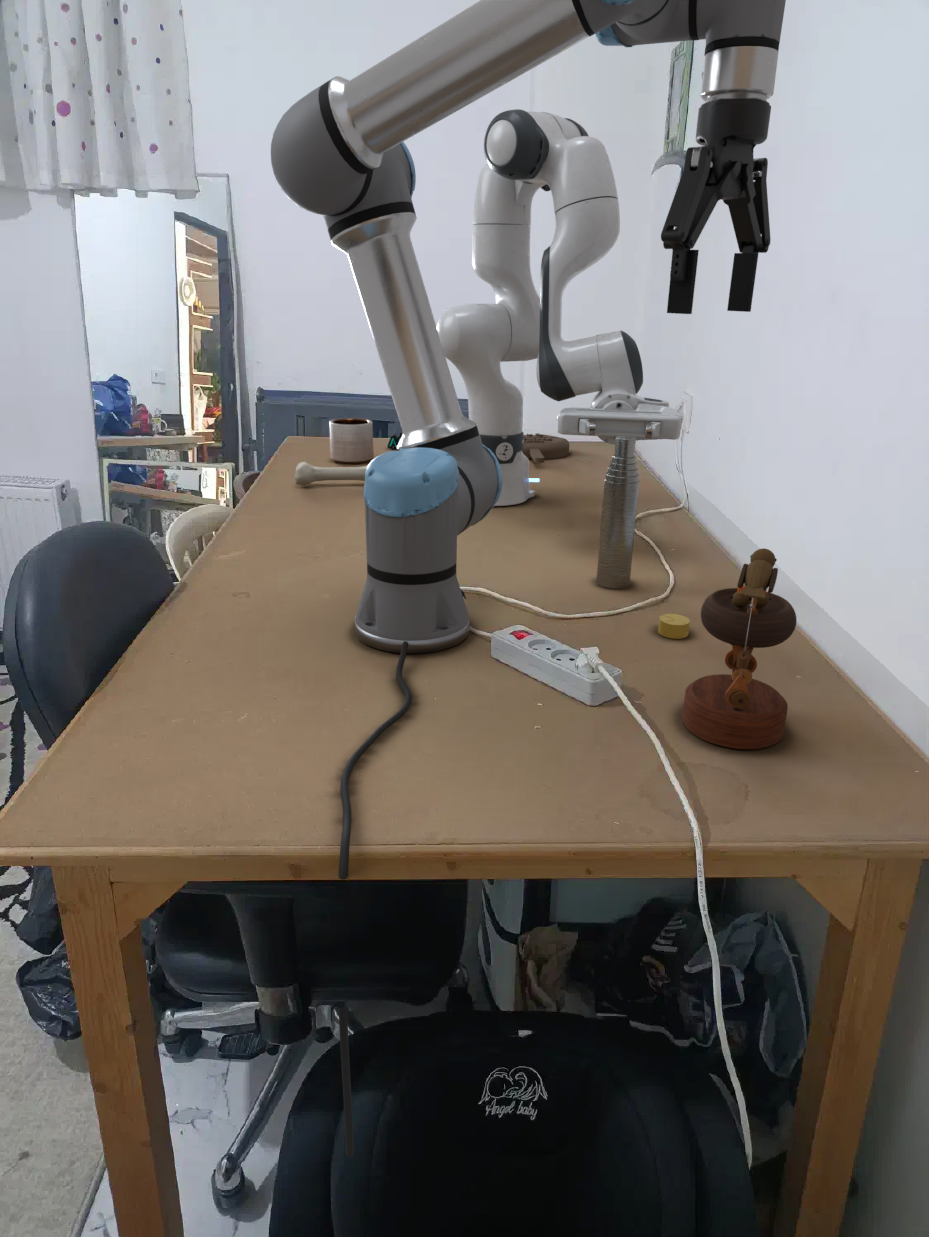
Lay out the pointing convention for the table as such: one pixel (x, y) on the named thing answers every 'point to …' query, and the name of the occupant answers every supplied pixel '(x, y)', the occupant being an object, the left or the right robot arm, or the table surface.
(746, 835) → the table surface
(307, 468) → the dog toy
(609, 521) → the bottle
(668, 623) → the cap
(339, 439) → the planter
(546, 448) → the ice cream bar
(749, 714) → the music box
